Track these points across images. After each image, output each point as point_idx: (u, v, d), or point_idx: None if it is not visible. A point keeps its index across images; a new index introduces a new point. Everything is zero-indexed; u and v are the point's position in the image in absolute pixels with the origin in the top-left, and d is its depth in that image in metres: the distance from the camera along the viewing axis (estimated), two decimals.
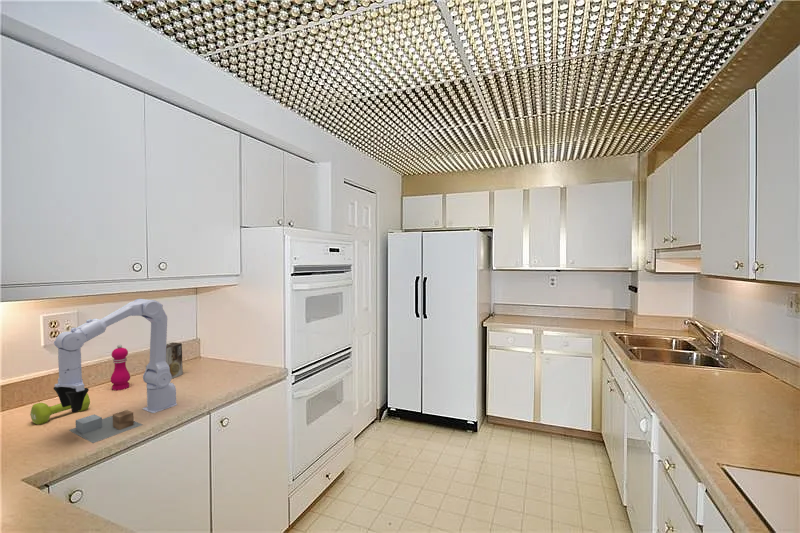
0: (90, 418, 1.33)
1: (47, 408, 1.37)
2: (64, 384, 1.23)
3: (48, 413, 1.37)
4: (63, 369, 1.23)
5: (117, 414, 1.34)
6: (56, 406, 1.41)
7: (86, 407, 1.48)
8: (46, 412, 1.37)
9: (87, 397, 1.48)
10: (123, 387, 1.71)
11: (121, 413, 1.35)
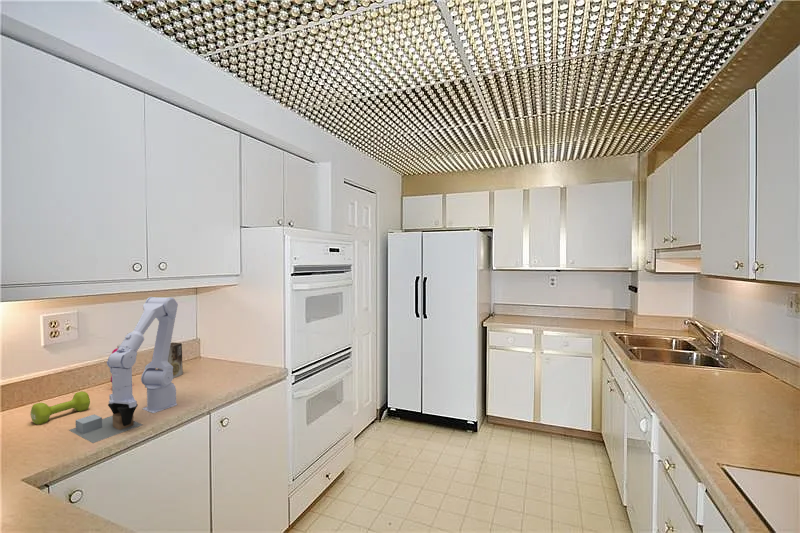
0: (90, 418, 1.33)
1: (47, 408, 1.37)
2: (118, 401, 1.31)
3: (48, 413, 1.37)
4: (120, 386, 1.32)
5: (117, 414, 1.34)
6: (56, 406, 1.41)
7: (86, 407, 1.48)
8: (46, 412, 1.37)
9: (87, 397, 1.48)
10: None
11: None
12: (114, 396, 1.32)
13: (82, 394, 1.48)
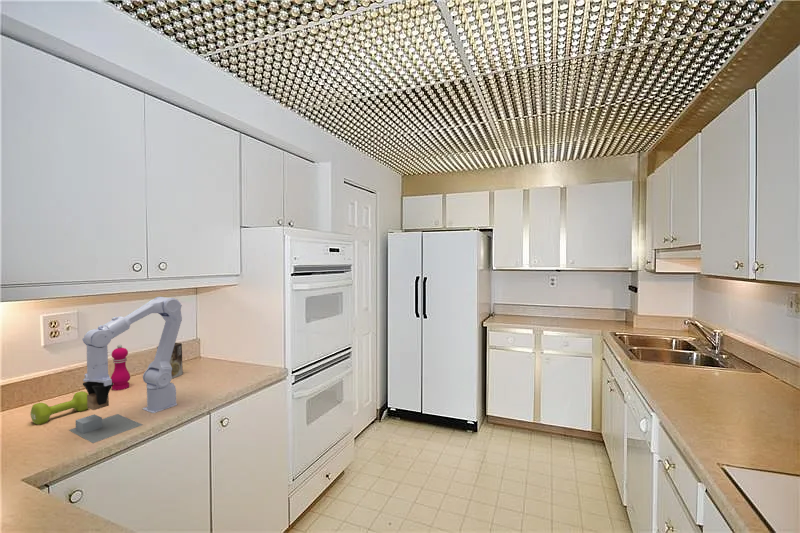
0: (90, 418, 1.33)
1: (47, 408, 1.37)
2: (92, 379, 1.29)
3: (48, 413, 1.37)
4: (91, 365, 1.30)
5: (91, 394, 1.32)
6: (56, 406, 1.41)
7: (86, 407, 1.48)
8: (46, 412, 1.37)
9: None
10: (123, 387, 1.71)
11: None
12: (89, 374, 1.30)
13: (82, 394, 1.48)
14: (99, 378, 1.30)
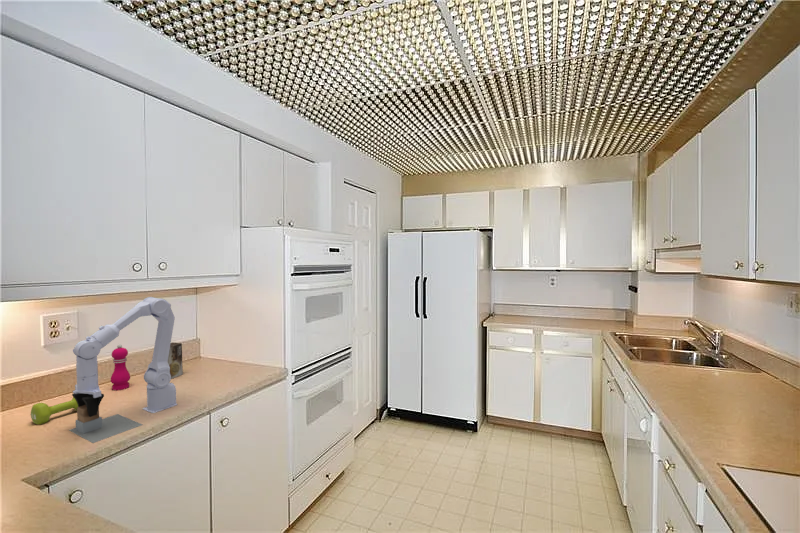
0: None
1: (47, 408, 1.37)
2: (82, 390, 1.29)
3: (48, 413, 1.37)
4: (80, 376, 1.29)
5: (82, 407, 1.31)
6: (56, 406, 1.41)
7: None
8: (46, 412, 1.37)
9: None
10: (123, 387, 1.71)
11: None
12: (78, 386, 1.29)
13: None
14: (89, 390, 1.30)
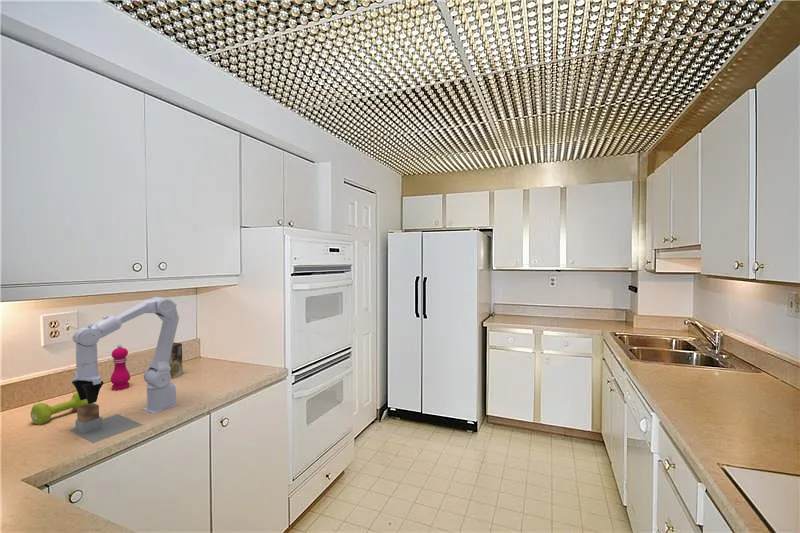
0: None
1: (48, 408, 1.37)
2: (81, 377, 1.29)
3: (49, 413, 1.37)
4: (80, 363, 1.29)
5: (82, 407, 1.31)
6: (56, 406, 1.41)
7: None
8: (48, 412, 1.37)
9: None
10: (123, 387, 1.71)
11: (86, 406, 1.32)
12: (78, 373, 1.29)
13: None
14: (88, 377, 1.30)
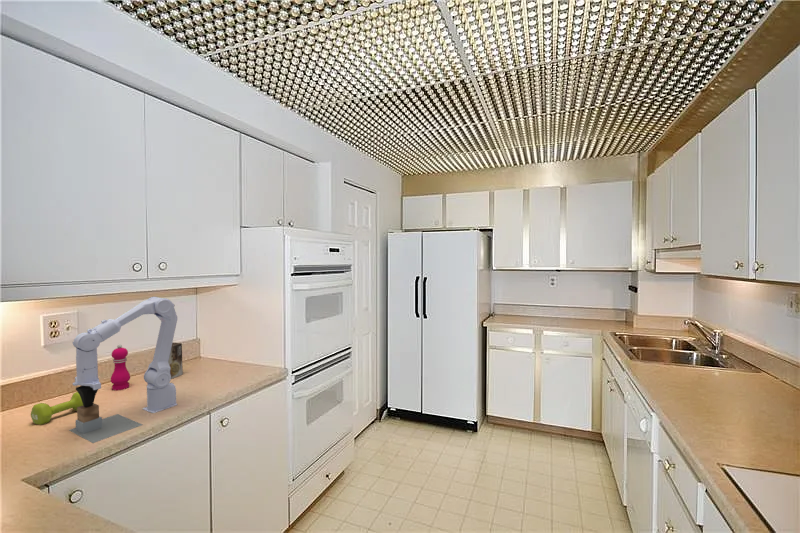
0: None
1: (49, 408, 1.37)
2: (82, 383, 1.29)
3: (50, 413, 1.37)
4: (80, 368, 1.29)
5: (82, 407, 1.31)
6: (57, 406, 1.41)
7: None
8: (49, 412, 1.37)
9: None
10: (123, 387, 1.71)
11: None
12: (78, 378, 1.29)
13: None
14: (88, 382, 1.30)
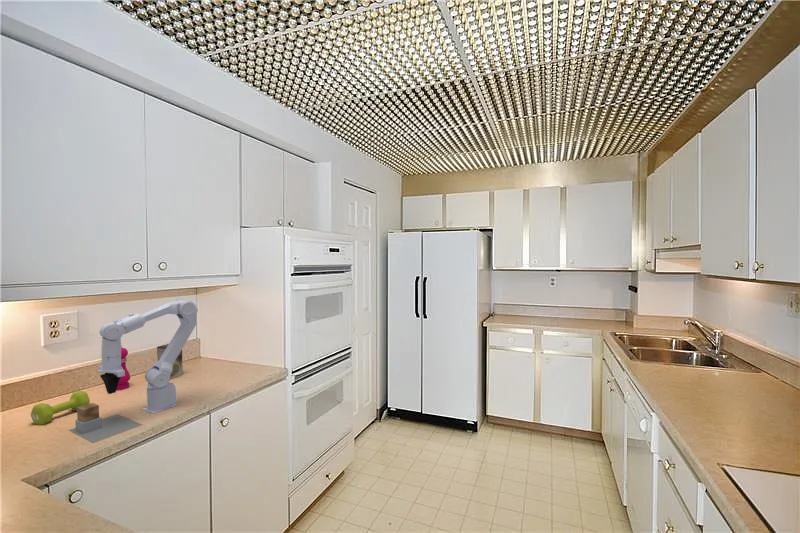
0: None
1: (50, 408, 1.38)
2: (106, 370, 1.36)
3: (51, 413, 1.37)
4: (104, 356, 1.36)
5: (82, 407, 1.31)
6: (57, 406, 1.41)
7: None
8: (50, 412, 1.37)
9: (87, 396, 1.49)
10: (123, 387, 1.71)
11: (86, 406, 1.32)
12: (103, 366, 1.36)
13: (81, 393, 1.48)
14: (113, 369, 1.37)
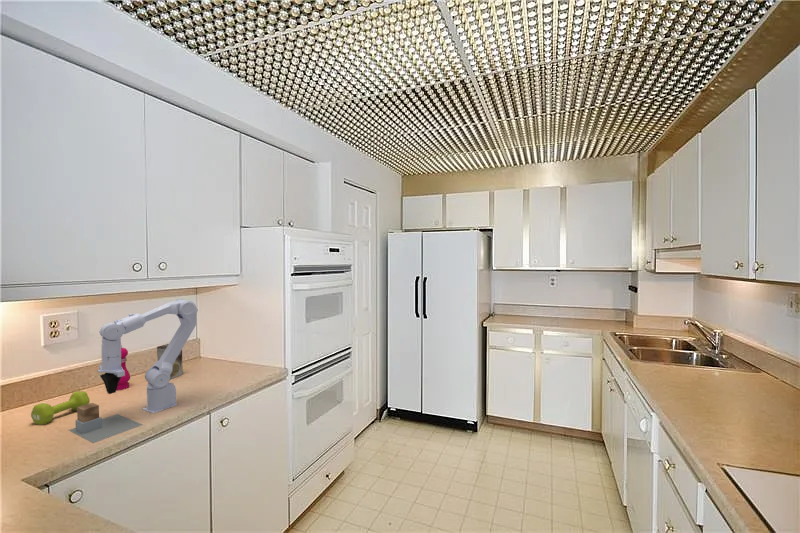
0: None
1: (51, 408, 1.38)
2: (106, 370, 1.36)
3: (52, 413, 1.37)
4: (104, 356, 1.36)
5: (82, 407, 1.31)
6: (57, 406, 1.41)
7: None
8: (51, 412, 1.37)
9: (87, 396, 1.49)
10: (123, 387, 1.71)
11: (86, 406, 1.32)
12: (103, 366, 1.36)
13: (81, 393, 1.48)
14: (113, 369, 1.37)
